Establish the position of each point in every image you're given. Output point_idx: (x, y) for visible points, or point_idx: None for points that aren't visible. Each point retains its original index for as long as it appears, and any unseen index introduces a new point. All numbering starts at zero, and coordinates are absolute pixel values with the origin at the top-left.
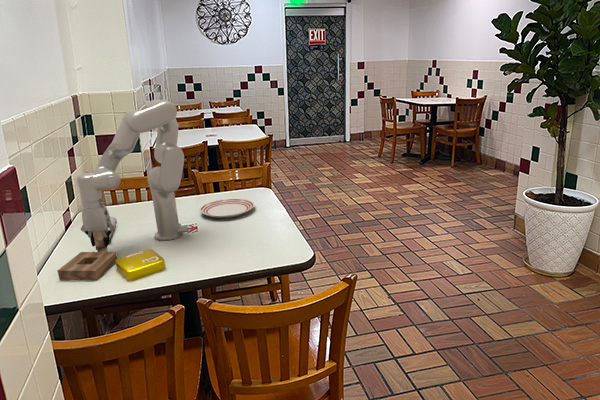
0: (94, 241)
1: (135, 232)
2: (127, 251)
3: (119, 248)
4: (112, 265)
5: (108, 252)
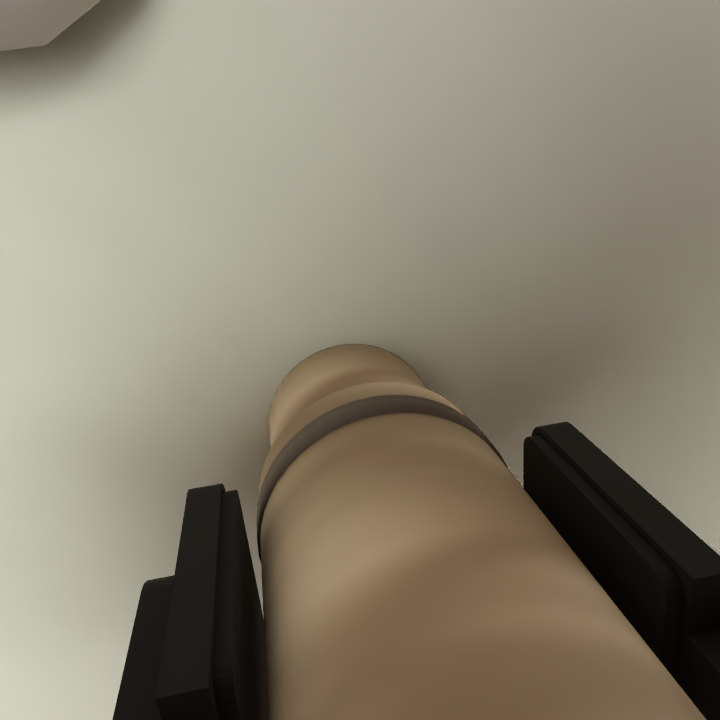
0: (257, 666)
1: None
2: (715, 240)
3: (513, 128)
4: None
5: None
